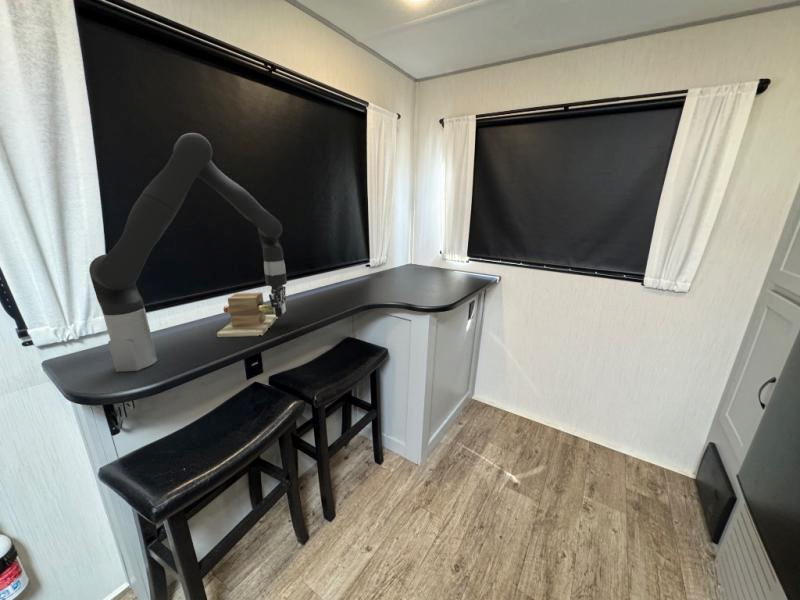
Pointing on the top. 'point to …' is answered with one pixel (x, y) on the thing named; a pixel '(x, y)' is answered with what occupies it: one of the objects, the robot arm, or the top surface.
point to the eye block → (246, 316)
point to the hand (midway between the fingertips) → (280, 314)
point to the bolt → (263, 308)
